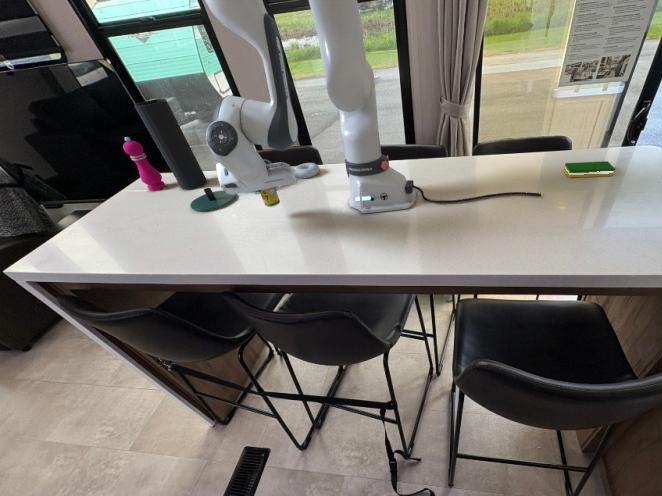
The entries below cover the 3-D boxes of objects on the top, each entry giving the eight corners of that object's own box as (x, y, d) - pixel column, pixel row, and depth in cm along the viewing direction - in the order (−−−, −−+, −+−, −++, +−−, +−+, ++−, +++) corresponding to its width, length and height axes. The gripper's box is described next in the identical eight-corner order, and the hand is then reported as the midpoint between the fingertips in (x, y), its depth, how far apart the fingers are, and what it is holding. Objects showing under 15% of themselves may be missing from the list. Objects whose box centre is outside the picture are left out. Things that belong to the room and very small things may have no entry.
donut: (316, 179, 126) (323, 168, 134) (313, 170, 124) (320, 160, 131) (292, 180, 128) (300, 170, 135) (289, 171, 125) (297, 161, 132)
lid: (242, 192, 123) (237, 179, 119) (221, 211, 112) (214, 198, 108) (206, 193, 125) (200, 180, 122) (182, 212, 114) (174, 199, 110)
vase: (192, 179, 138) (149, 99, 117) (212, 179, 136) (172, 98, 116) (176, 190, 131) (127, 106, 110) (197, 190, 129) (151, 105, 108)
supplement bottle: (262, 205, 102) (251, 179, 96) (274, 199, 105) (264, 174, 99) (271, 208, 100) (261, 182, 94) (283, 202, 102) (273, 176, 97)
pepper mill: (144, 191, 133) (110, 139, 119) (159, 183, 138) (128, 133, 124) (156, 192, 131) (123, 140, 117) (171, 185, 135) (141, 134, 122)
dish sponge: (613, 176, 106) (615, 168, 104) (568, 178, 107) (570, 170, 106) (605, 167, 111) (607, 160, 109) (563, 169, 113) (564, 162, 111)
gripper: (286, 151, 87) (299, 174, 101) (209, 165, 85) (233, 186, 99) (290, 174, 87) (303, 193, 100) (214, 187, 85) (237, 205, 99)
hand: (267, 190), depth 100 cm, fingers closed on supplement bottle, 5 cm apart
